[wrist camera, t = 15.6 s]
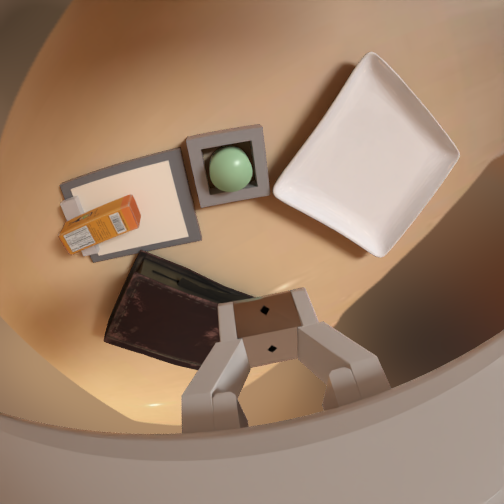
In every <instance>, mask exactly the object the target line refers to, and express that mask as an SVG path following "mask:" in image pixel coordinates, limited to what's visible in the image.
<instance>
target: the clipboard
mask: <svg viewBox="0 0 504 504" xmlns="http://www.w3.org/2000/svg"><path fill="white" fill-rule="evenodd" d="M60 187H61V190H62V193H63V195H64V198H65V200H63V201H62V202H61V203H60V205H61V208H62V210H63V212H64V215H65V217H66V219H67V221H69V220H71V219H73V218H75V217H77V216H79V215H82V214H84V213H86V212H88V211H90V210H93V209H95V208H97V207H100V206H102V205H104V204H107V203H109V202H112V201H114V200H117V199H119V198H122V197H124V196H127V195H130V194H131V195H133V197H134V199H135V201H136V204H137V206H138V209H139V211H140V214H141V219H140V225H139V228H137V229H135V230H132V231H129V232H127V233H124V234H121V235H119V236H116V237H114V238H111V239H109V240H106V241H104V242H101V243H99V244H96V245H94V246H91V247H89V248H86V249H84V250H81V252H82V254H83V256H87V255H90V257H91V259H92V261H93V263H94V262H98V261H103V260H108V259H112V258H117V257H122V256H126V255H131V254H136V253H139V252H140V250H143V251H150V250H155V249H160V248H165V247H170V246H175V245H180V244H185V243H190V242H196V241H201V240H202V235H201V231H200V227H199V224H198V220H197V216H196V212H195V208H194V204H193V200H192V196H191V191H190V187H189V183H188V179H187V175H186V170H185V166H184V161H183V157H182V153H181V148H180V147H179V148H175V149H170V150H166V151H162V152H158V153H154V154H150V155H147V156H143V157H139V158H136V159H132V160H129V161H125V162H122V163H119V164H115V165H112V166H109V167H106V168H103V169H100V170H97V171H94V172H91V173H88V174H85V175H82V176H79V177H76V178H74V179H71V180H68V181H66V182H63V183H62V184H60Z"/></svg>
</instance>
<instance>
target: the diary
mask: <svg viewBox="0 0 504 504" xmlns="http://www.w3.org/2000/svg"><path fill="white" fill-rule="evenodd" d="M250 298H256V297H253V296H250V295H247V294H245V293H242V292H239V291H236V290H234V289H231V288H228V287H225V286H223V285H221V284H219V283H217V282H215V281H213V280H211V279H208V278H206V277H204V276H202V275H200V274H198V273H196V272H194V271H192V270H190V269H188V268H186V267H183V266H181V265H178V264H176V263H173V262H171V261H168V260H165V259H163V258H160V257H158V256H155V255H153V254H150V253H148V252H146V251H143V250H140V252H139V254H138V256H137V258H136V260H135V262H134V264H133V267H132V269H131V271H130V273H129V275H128V277H127V279H126V282H125V284H124V286H123V288H122V290H121V293H120V295H119V297H118V300H117V302H116V304H115V307H114V309H113V311H112V314H111V316H110V319H109V321H108V324H107V328H106V332H105V336H104V342H106V343H109V344H112V345H115V346H118V347H121V348H124V349H128V350H131V351H134V352H137V353H141V354H144V355H147V356H150V357H153V358H156V359H159V360H162V361H165V362H168V363H171V364H174V365H178V366H182V367H187V368H191V369H196V370H199V368H200V367H201V365H202V364H203V362H204V361H205V359H206V357H207V356H208V354H209V353H210V351H211V350H212V348H213V346H214V345H215V343H218V342H220V334H219V320H218V304H220V303H226V302H233V301H237V300H244V299H250Z"/></svg>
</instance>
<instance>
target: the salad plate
mask: <svg viewBox="0 0 504 504" xmlns="http://www.w3.org/2000/svg"><path fill="white" fill-rule="evenodd" d="M459 156H460V153H459V151H458V149H457V147H456V146H455V144H454V143H453V141H452V140H451V139H450V137H449V136H448V135H447V133H446V132H445V131H444V129H443V128H442V127H441V126H440V124H439V123H438V122H437V120H436V119H435V118H434V117H433V116H432V114H431V113H430V112H429V111H428V109H427V108H426V107H425V106H424V105H423V103H422V102H421V101H420V100H419V99H418V97H417V96H416V95H415V94H414V93H413V92H412V90H411V89H410V88H409V87H408V86H407V84H406V83H405V82H404V81H403V80H402V79H401V78H400V77H399V75H398V74H397V73H396V72H395V71H394V70H393V69H392V68H391V67H390V66H389V65H388V64H387V63H386V62H385V61H384V60H383V59H382V58H381V57H379V56H378V55H377V54H375V53H374V52H368V53H367V54H365V55H364V56H363V58H362V59H361V60H360V61H359V63H358V64H357V66H356V67H355V69H354V70H353V72H352V73H351V75H350V76H349V78H348V80H347V81H346V83H345V84H344V86H343V88H342V89H341V91H340V92H339V94H338V95H337V97H336V99H335V100H334V102H333V103H332V105H331V106H330V108H329V109H328V111H327V112H326V114H325V115H324V116H323V118H322V119H321V121H320V122H319V124H318V125H317V126H316V128H315V129H314V131H313V132H312V133H311V135H310V136H309V138H308V139H307V140H306V142H305V143H304V144H303V146H302V147H301V148H300V150H299V151H298V152H297V153H296V155H295V156H294V157H293V159H292V160H291V161H290V163H289V164H288V165H287V167H286V168H285V169H284V171H283V172H282V174H281V175H280V176H279V178H278V179H277V181H276V183H275V184H274V187H273V194H274V196H275V197H276V198H277V199H279V200H280V201H282V202H283V203H285V204H287V205H289V206H291V207H293V208H295V209H296V210H298V211H300V212H302V213H304V214H306V215H308V216H310V217H311V218H313V219H315V220H317V221H319V222H321V223H322V224H324V225H326V226H328V227H329V228H331V229H333V230H335V231H336V232H338V233H340V234H341V235H343V236H345V237H346V238H348V239H349V240H351V241H352V242H354V243H356V244H357V245H358V246H360V247H361V248H363V249H364V250H366V251H367V252H369V253H370V254H372V255H374V256H376V257H384V256H385V255H386V254H387V253H388V252H389V251H390V250H391V249H392V247H393V246H394V245H395V244H396V243H397V241H398V240H399V239H400V238H401V237H402V235H403V234H404V233H405V232H406V230H407V229H408V228H409V227H410V225H411V224H412V223H413V222H414V220H415V219H416V218H417V216H418V215H419V214H420V213H421V211H422V210H423V209H424V207H425V206H426V205H427V203H428V202H429V201H430V199H431V198H432V197H433V195H434V194H435V192H436V191H437V190H438V188H439V187H440V185H441V184H442V183H443V181H444V180H445V178H446V177H447V175H448V174H449V173H450V171H451V170H452V168H453V167H454V165H455V164H456V162H457V160H458V159H459Z"/></svg>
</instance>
